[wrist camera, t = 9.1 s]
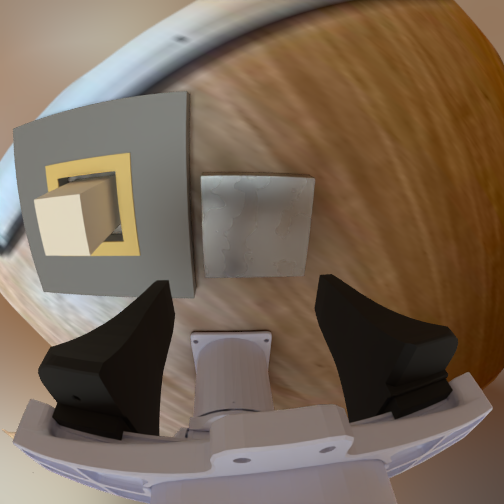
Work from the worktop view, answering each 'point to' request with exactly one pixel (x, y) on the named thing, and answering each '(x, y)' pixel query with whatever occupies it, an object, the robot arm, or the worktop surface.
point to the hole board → (128, 189)
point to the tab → (255, 223)
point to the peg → (78, 216)
